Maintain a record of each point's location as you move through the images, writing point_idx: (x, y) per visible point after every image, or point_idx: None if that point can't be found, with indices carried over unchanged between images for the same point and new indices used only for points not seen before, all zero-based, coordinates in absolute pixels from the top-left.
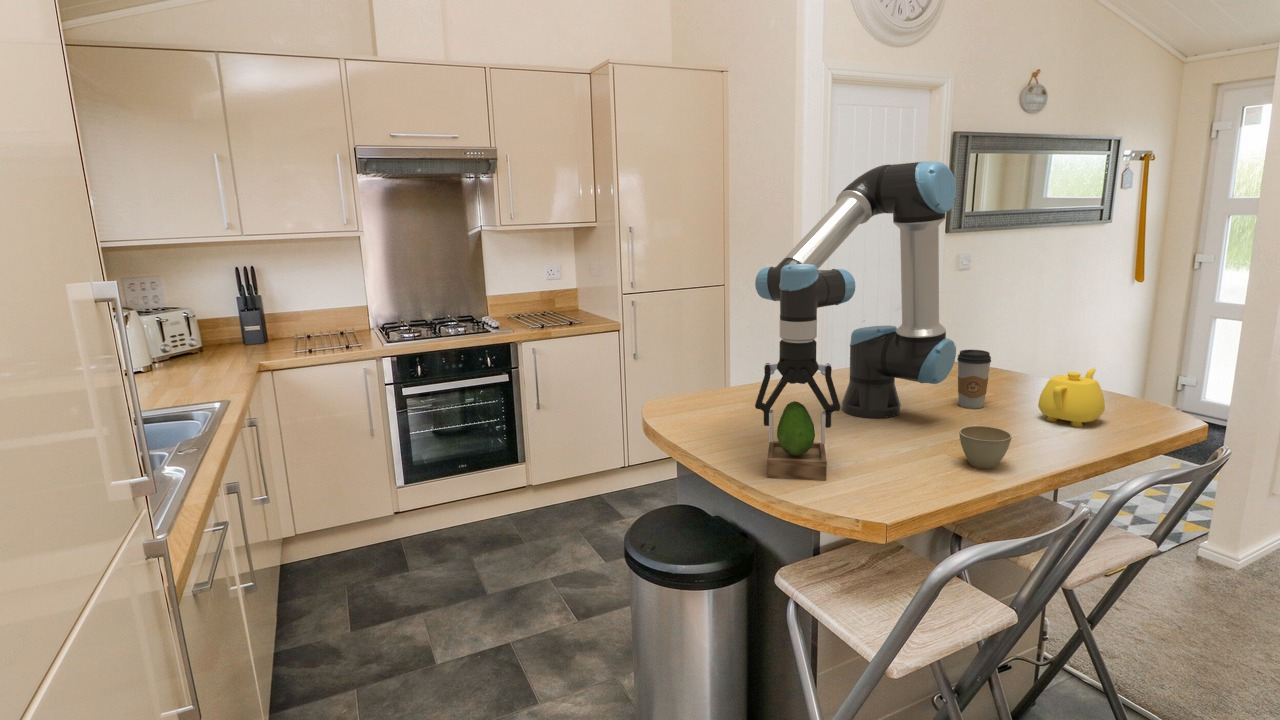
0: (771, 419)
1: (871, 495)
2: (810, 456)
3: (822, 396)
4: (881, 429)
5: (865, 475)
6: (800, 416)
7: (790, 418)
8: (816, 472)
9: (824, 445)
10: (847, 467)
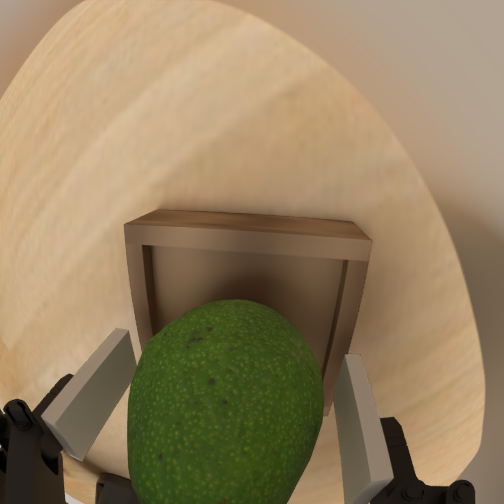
0: (371, 445)
1: (63, 122)
2: None
3: (7, 497)
4: (103, 451)
5: (71, 256)
6: (163, 441)
7: (245, 440)
8: (175, 216)
9: None
10: (111, 310)
